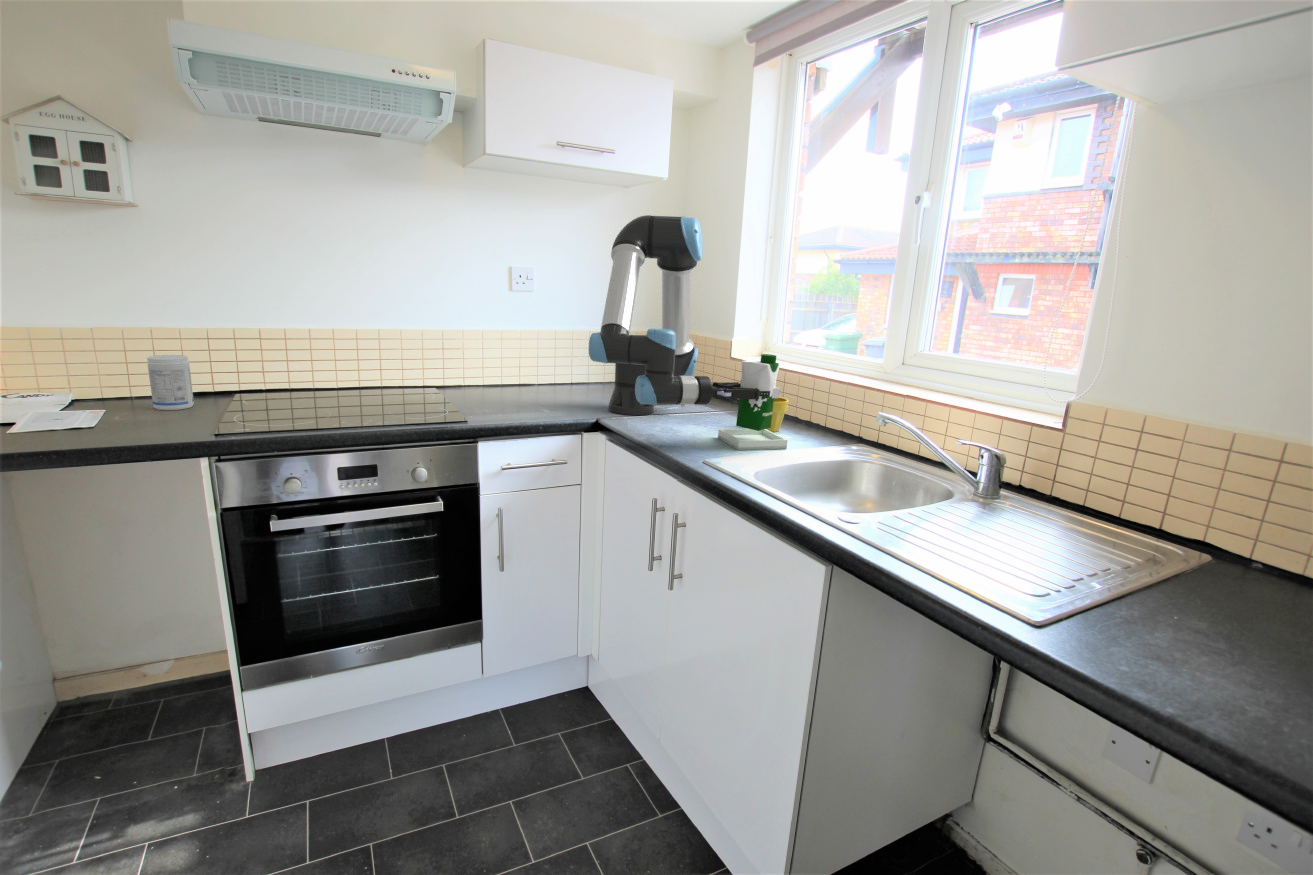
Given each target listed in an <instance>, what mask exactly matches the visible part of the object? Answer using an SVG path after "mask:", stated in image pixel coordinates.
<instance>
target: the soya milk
mask: <svg viewBox="0 0 1313 875" xmlns="http://www.w3.org/2000/svg"><path fill="white" fill-rule="evenodd" d="M780 367H781V363H780V362H777V355H774V354H768V353H762V354H761V356H760V359H756V358H755V359H748V360H741V378H740V382H741V387H740V388H753V389H756V388H758V389H759V390H760V391H770V396H759V399H758V401H756V399H738V407H737V415H736V424H735V426H736V427H739V428H742V429H752V430H757V431H760V430H764V429H767V428H771V421H772V412H773V403H774V398H772V395H773V388H777V387H776V386H777V378H778V374H779V370H780ZM761 394H762V393H761ZM764 394H765V393H764ZM767 394H768V393H767Z"/></svg>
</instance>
